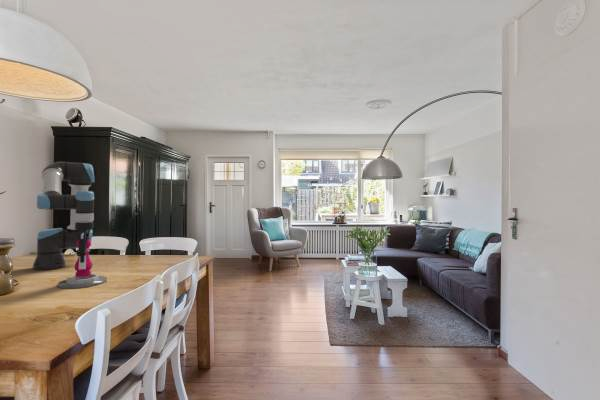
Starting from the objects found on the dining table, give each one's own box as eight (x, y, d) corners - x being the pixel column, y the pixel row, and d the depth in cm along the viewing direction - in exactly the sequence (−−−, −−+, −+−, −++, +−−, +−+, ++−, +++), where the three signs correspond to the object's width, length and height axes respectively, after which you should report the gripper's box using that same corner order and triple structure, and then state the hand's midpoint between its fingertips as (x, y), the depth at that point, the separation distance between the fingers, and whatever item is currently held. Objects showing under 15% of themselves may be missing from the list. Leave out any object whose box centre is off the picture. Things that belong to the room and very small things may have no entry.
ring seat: (62, 280, 153) (62, 274, 153) (108, 276, 162) (108, 270, 162) (52, 290, 135) (52, 284, 135) (105, 285, 145) (105, 279, 145)
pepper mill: (85, 277, 145) (85, 236, 145) (70, 277, 145) (71, 236, 145) (95, 273, 152) (96, 234, 152) (81, 273, 152) (82, 234, 152)
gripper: (78, 220, 156) (77, 264, 156) (71, 223, 138) (70, 272, 138) (95, 220, 159) (95, 262, 159) (90, 223, 142) (89, 270, 142)
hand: (83, 267), depth 149 cm, fingers closed on pepper mill, 7 cm apart
